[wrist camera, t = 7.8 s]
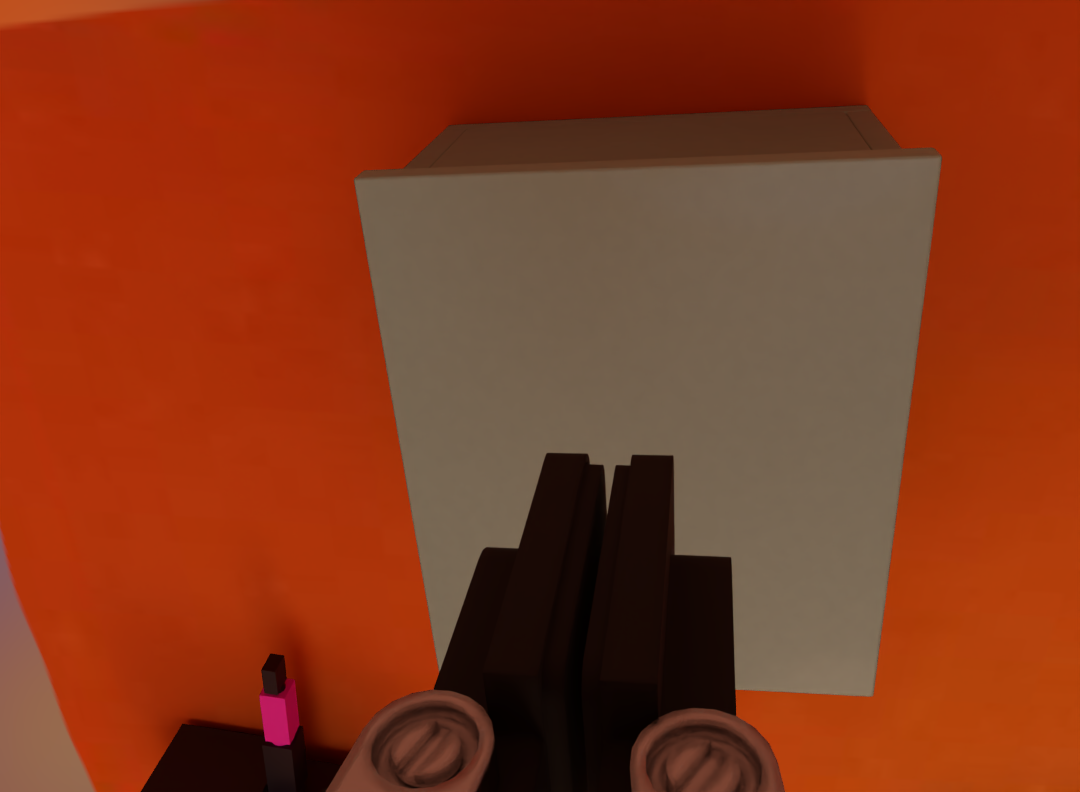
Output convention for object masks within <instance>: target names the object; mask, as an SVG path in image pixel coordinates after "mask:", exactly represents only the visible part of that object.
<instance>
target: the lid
mask: <svg viewBox="0 0 1080 792" xmlns="http://www.w3.org/2000/svg"><path fill="white" fill-rule="evenodd" d="M941 161H942V157H941V155H940V154H939V153H938V152H937V151H936V150H935V149H934V148H910V149H885V150H860V151H836V152H811V153H786V154H761V155H736V156H711V157H687V158H662V159H637V160H612V161H587V162H562V163H538V164H513V165H488V166H463V167H438V168H413V169H389V170H365V171H363V172H361V173H360V174H359V175H358V176H357V177H356V178H355V179H354V184H355V189H356V195H357V201H358V207H359V212H360V218H361V224H362V230H363V235H364V241H365V247H366V253H367V259H368V264H369V270H370V276H371V282H372V287H373V293H374V299H375V305H376V310H377V316H378V322H379V328H380V334H381V339H382V345H383V351H384V357H385V362H386V368H387V374H388V380H389V385H390V391H391V397H392V403H393V409H394V414H395V420H396V426H397V432H398V437H399V443H400V449H401V455H402V460H403V466H404V472H405V478H406V483H407V489H408V495H409V501H410V507H411V512H412V518H413V524H414V530H415V535H416V541H417V547H418V553H419V558H420V564H421V570H422V576H423V582H424V587H425V593H426V599H427V605H428V610H429V616H430V622H431V628H432V633H433V639H434V645H435V651H436V657H437V662H438V668H439V672H440V669H441V666H442V664H443V661H444V658H445V655H446V652H447V649H448V646H449V643H450V640H451V637H452V635H453V632H454V629H455V626H456V623H457V620H458V617H459V614H460V611H461V609H462V606H463V603H464V600H465V597H466V594H467V591H468V588H469V585H470V582H471V580H472V577H473V574H474V571H475V568H476V565H477V562H478V559H479V557H480V555H481V552H482V550H483V549H484V548H486V547H497V548H519V544H520V541H521V538H522V534H523V531H524V527H525V524H526V520H527V517H528V514H529V510H530V507H531V503H532V500H533V496H534V493H535V489H536V486H537V483H538V479H539V476H540V472H541V469H542V465H543V462H544V459H545V456H546V454H547V453H587V454H588V455H589V460H590V464H596V465H604V470H605V486H606V506H607V513H608V507H609V501H610V495H611V489H612V483H613V477H614V471H615V466H616V465H630V463H631V457H632V455H673V457H674V526H675V555H695V556H719V557H731V560H732V589H733V624H734V659H735V689H737V690H756V691H775V692H794V693H813V694H832V695H851V696H870V697H871V696H873V694H874V686H875V678H876V670H877V662H878V655H879V647H880V639H881V631H882V623H883V616H884V608H885V600H886V592H887V584H888V576H889V569H890V561H891V553H892V545H893V537H894V529H895V522H896V514H897V506H898V498H899V490H900V482H901V475H902V467H903V459H904V451H905V443H906V435H907V428H908V420H909V412H910V404H911V396H912V388H913V381H914V373H915V365H916V357H917V349H918V341H919V334H920V326H921V318H922V310H923V302H924V295H925V287H926V279H927V271H928V263H929V255H930V248H931V240H932V232H933V224H934V216H935V208H936V201H937V193H938V185H939V177H940V169H941Z"/></svg>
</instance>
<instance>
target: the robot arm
mask: <svg viewBox="0 0 1080 792" xmlns="http://www.w3.org/2000/svg"><path fill="white" fill-rule="evenodd" d="M319 792H785V790H784V786H783V782H782V778H781V774H780V770H779V766H778V763H777V760H776V758H775V756H774V753H773V751H772V749H771V747H770V745H769V743H768V742H767V741H766V740H765V738H764V737H763V736H762V735H761V734H760V733H759V732H758V731H757V730H756V729H755V728H754V727H753V726H751V725H750V724H748V723H746V722H745V721H743V720H741V719H740V718H738V717H737V716H736V694H735V659H734V624H733V589H732V560H731V557H719V556H695V555H675V526H674V457H673V455H632V457H631V463H630V465H616V466H615V471H614V477H613V483H612V489H611V495H610V501H609V507H608V513H607V506H606V486H605V470H604V465H596V464H590V460H589V455H588V454H587V453H547V454H546V456H545V459H544V462H543V465H542V469H541V472H540V476H539V479H538V483H537V486H536V489H535V493H534V496H533V500H532V503H531V507H530V510H529V514H528V517H527V520H526V524H525V527H524V531H523V534H522V538H521V541H520V544H519V548H497V547H486V548H484V549H483V550H482V552H481V555H480V557H479V559H478V562H477V565H476V568H475V571H474V574H473V577H472V580H471V582H470V585H469V588H468V591H467V594H466V597H465V600H464V603H463V606H462V609H461V611H460V614H459V617H458V620H457V623H456V626H455V629H454V632H453V635H452V637H451V640H450V643H449V646H448V649H447V652H446V655H445V658H444V661H443V664H442V666H441V669H440V672H439V675H438V678H437V681H436V684H435V687H434V690H428V691H423V692H417V693H412V694H409V695H407V696H404V697H402V698H400V699H397V700H395V701H393V702H391V703H390V704H388V705H387V706H386V707H384V708H383V709H382V710H380V711H379V712H377V713H376V714H375V715H374V717H373V718H372V719H371V720H370V721H369V723H368V724H367V725H366V726H365V728H364V729H363V730H362V732H361V734H360V735H359V737H358V739H357V740H356V742H355V744H354V745H353V747H352V749H351V750H350V752H349V754H348V755H347V757H346V759H345V760H344V762H343V764H342V765H341V767H340V769H339V770H338V772H337V774H336V775H335V777H334V779H333V780H332V782H331V784H330V785H329V786H328V787H326V788H325V789H323V790H321V791H319Z"/></svg>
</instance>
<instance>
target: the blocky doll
mask: <svg viewBox="0 0 1080 792" xmlns="http://www.w3.org/2000/svg"><path fill="white" fill-rule="evenodd" d="M261 671H262V679H263V689H262V691H261V693H260V695H259V697H260V704H261V712H262V719H263V727H264V734H265V737H263V736H257V735H250V734H244V733H238V732H231V731H225V730H219V729H212V728H206V727H200V726H194V725H187V724H182V726H181V727H180V729H179V730H178V732H177V734H176V735H175V737H174V739H173V740H172V742H171V743H170V745H169V747H168V748H167V750H166V752H165V753H164V755H163V756H162V758H161V760H160V761H159V763H158V765H157V766H156V768H155V769H154V771H153V773H152V774H151V776H150V778H149V779H148V781H147V782H146V784H145V786H144V787H143V789H142V791H141V792H319V791H321V790H323V789H325V788H326V787H328V786H329V785H330V784H331V782H332V780H333V779H334V777H335V775H336V774H337V772H338V770H339V769H340V767H341V765H338V764H332V763H326V762H320V761H313V760H307V759H306V753H305V743H304V733H303V726H300V725H299V715H298V706H297V696H296V687H295V679H288V678H287V677H286V668H285V659H284V655H277V654H270V655H269V657H268V659H267V661H266V663H265V664H264V666H263V668H262V670H261Z"/></svg>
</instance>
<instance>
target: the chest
mask: <svg viewBox="0 0 1080 792" xmlns="http://www.w3.org/2000/svg"><path fill="white" fill-rule="evenodd" d="M885 149H902V148H901V147H900V146H899V145H898V143H897V142H896V141H895V140H894V139H893V137H892V136H891V135H890V134H889V132H888V131H887V130H886V129H885V127H884V126H883V125H882V124H881V122H880V121H879V120H878V119H877V118H876V116H875V115H874V114H873V113H872V111H871V110H870V108H869V107H868V106H867V105H861V106H840V107H819V108H798V109H777V110H756V111H736V112H715V113H694V114H673V115H652V116H631V117H610V118H590V119H569V120H548V121H527V122H506V123H485V124H464V125H449V126H448V127H447V128H446V129H445V130H444V131H443V132H442V133H440V134H439V135H438V136H437V137H436V138H435V139H434V140H433V141H432V142H431V143H430V144H429V145H428V146H427V147H426V148H425V149H424V150H422V151H421V152H420V153H419V154H418V155H417V156H416V157H415V158H414V159H413V160H412V161H411V162H410V163H409V164H408V165H407V166H406V167H405V168H403V169H413V168H438V167H463V166H488V165H513V164H538V163H562V162H587V161H612V160H637V159H662V158H687V157H711V156H736V155H761V154H786V153H811V152H836V151H860V150H885Z"/></svg>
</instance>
